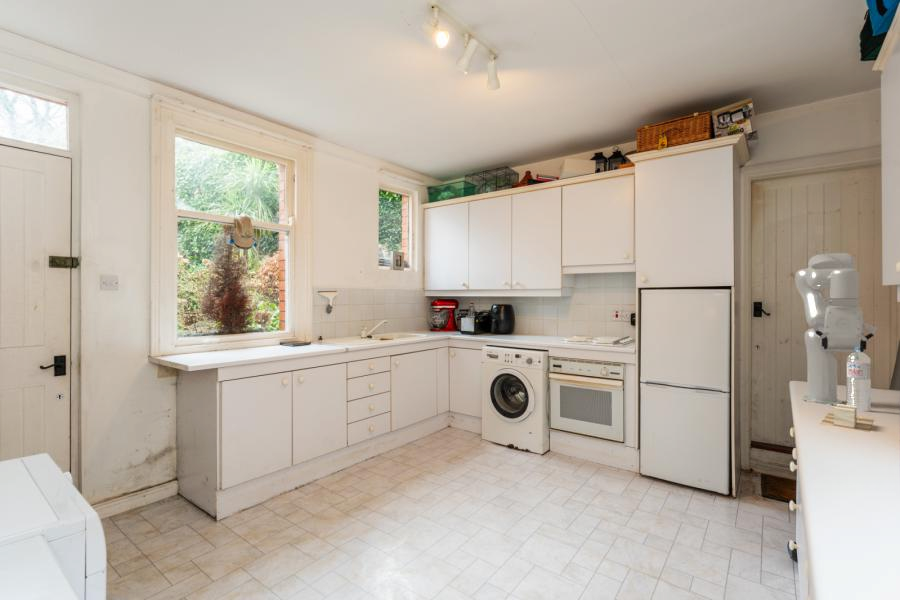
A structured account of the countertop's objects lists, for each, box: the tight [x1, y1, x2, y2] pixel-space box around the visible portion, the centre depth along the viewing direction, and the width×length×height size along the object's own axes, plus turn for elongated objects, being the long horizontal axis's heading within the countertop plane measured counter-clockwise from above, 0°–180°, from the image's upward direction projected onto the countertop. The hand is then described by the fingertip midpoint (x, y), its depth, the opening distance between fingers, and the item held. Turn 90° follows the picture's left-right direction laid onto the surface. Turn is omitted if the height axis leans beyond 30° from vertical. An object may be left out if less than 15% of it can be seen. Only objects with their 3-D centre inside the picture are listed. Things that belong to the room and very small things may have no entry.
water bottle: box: [845, 347, 872, 412], centre depth 163 cm, size 7×7×25 cm
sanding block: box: [833, 403, 858, 429], centre depth 143 cm, size 8×5×6 cm, turn 132°
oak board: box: [820, 411, 875, 433], centre depth 147 cm, size 22×12×1 cm, turn 132°
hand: (843, 350), depth 152 cm, fingers open, 9 cm apart
